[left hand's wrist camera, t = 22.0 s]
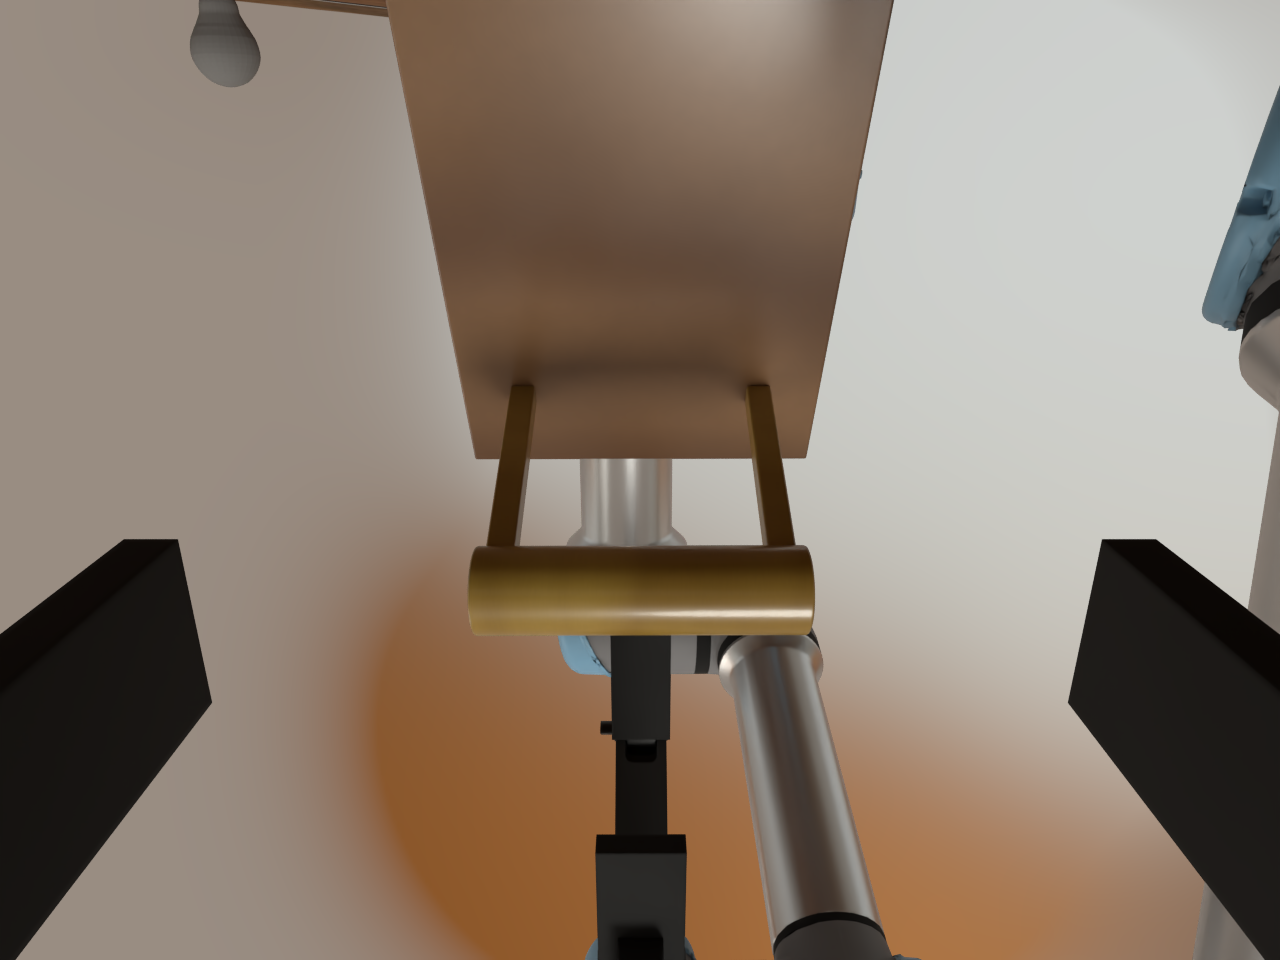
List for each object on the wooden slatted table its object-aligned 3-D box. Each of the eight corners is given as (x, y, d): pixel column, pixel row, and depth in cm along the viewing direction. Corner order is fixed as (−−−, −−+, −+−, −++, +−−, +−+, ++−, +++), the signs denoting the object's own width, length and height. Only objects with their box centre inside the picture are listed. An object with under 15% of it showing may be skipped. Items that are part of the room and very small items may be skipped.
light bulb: (233, -39, 77) (252, 85, 81) (257, -27, 83) (273, 88, 86) (163, -40, 77) (185, 85, 80) (192, -28, 82) (211, 88, 86)
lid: (801, 436, 28) (849, 688, 22) (479, 436, 28) (433, 689, 22) (892, -58, 18) (1029, 148, 12) (387, -57, 18) (252, 150, 12)
